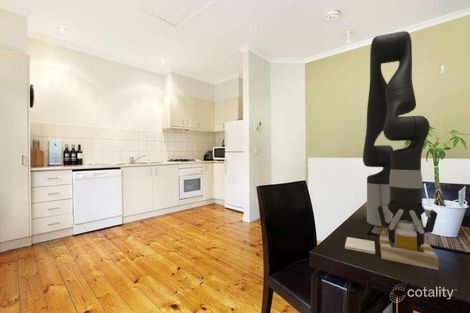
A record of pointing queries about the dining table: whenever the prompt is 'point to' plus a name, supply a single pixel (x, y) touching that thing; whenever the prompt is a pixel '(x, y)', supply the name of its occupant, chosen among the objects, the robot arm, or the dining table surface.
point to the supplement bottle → (405, 236)
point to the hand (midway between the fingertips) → (405, 243)
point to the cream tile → (360, 245)
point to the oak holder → (409, 254)
